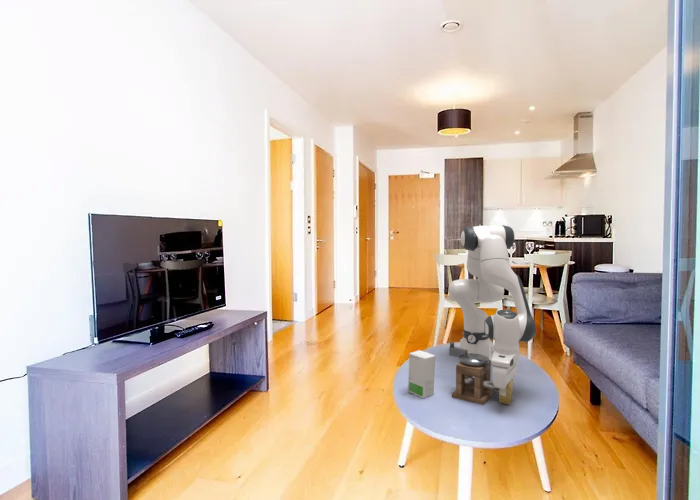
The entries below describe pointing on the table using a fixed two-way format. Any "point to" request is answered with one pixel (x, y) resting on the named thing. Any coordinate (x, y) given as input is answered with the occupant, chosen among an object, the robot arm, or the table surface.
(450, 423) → the table surface
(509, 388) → the gold cube on rod
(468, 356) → the handwheel
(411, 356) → the skincare box
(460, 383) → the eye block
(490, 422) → the table surface
